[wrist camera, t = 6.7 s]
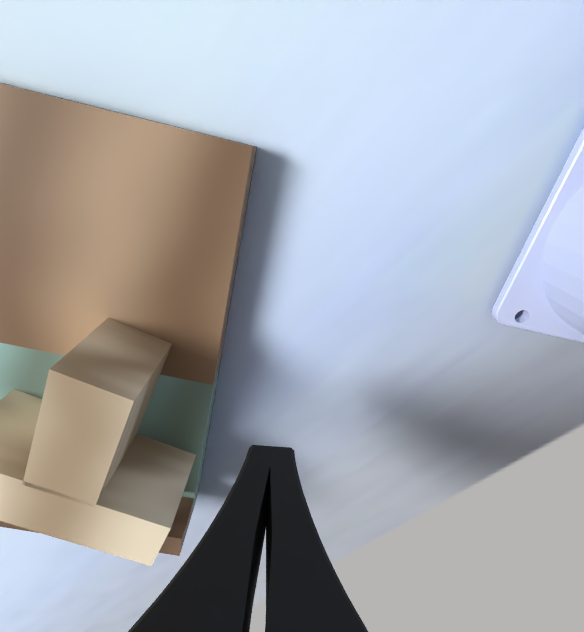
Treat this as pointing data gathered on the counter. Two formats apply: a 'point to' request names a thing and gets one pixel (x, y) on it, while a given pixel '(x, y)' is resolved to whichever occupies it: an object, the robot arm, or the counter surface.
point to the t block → (93, 449)
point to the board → (119, 253)
